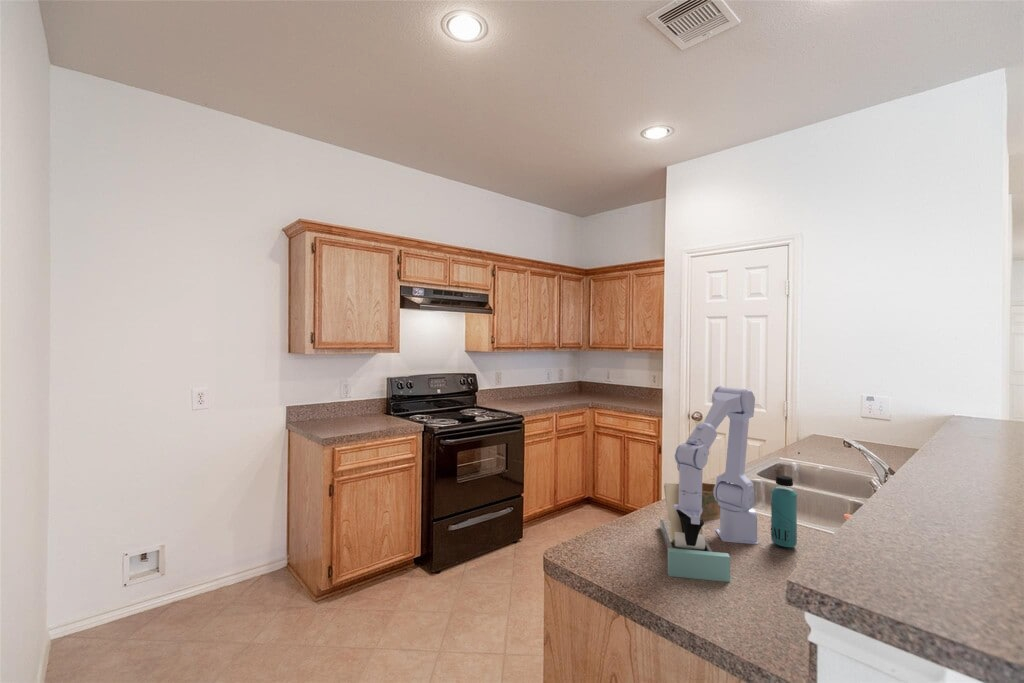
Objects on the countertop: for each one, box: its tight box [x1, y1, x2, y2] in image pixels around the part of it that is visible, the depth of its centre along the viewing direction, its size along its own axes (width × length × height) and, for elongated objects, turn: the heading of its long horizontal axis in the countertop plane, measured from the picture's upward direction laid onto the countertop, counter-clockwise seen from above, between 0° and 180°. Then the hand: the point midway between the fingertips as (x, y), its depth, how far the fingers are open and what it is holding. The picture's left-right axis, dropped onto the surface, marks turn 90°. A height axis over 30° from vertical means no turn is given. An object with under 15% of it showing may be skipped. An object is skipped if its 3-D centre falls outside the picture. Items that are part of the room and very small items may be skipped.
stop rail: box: [667, 548, 731, 583], centre depth 111 cm, size 14×2×6 cm, turn 79°
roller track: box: [659, 519, 713, 552], centre depth 125 cm, size 11×27×4 cm, turn 169°
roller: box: [674, 532, 706, 550], centre depth 120 cm, size 7×4×4 cm, turn 79°
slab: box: [663, 482, 704, 543], centre depth 128 cm, size 8×16×2 cm
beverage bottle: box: [770, 475, 798, 548], centre depth 127 cm, size 6×7×20 cm
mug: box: [700, 482, 720, 520], centre depth 151 cm, size 12×18×12 cm, turn 73°
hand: (689, 541), depth 120 cm, fingers closed on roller, 3 cm apart
